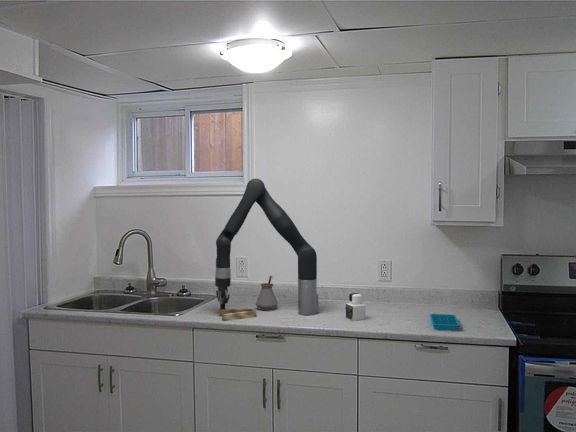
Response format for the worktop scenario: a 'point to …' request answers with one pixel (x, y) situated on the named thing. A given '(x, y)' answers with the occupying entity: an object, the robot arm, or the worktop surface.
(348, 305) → the medicine bottle
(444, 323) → the ice cube tray
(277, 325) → the worktop surface
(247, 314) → the tong base
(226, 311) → the tong arm
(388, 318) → the worktop surface
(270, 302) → the coffee pot
